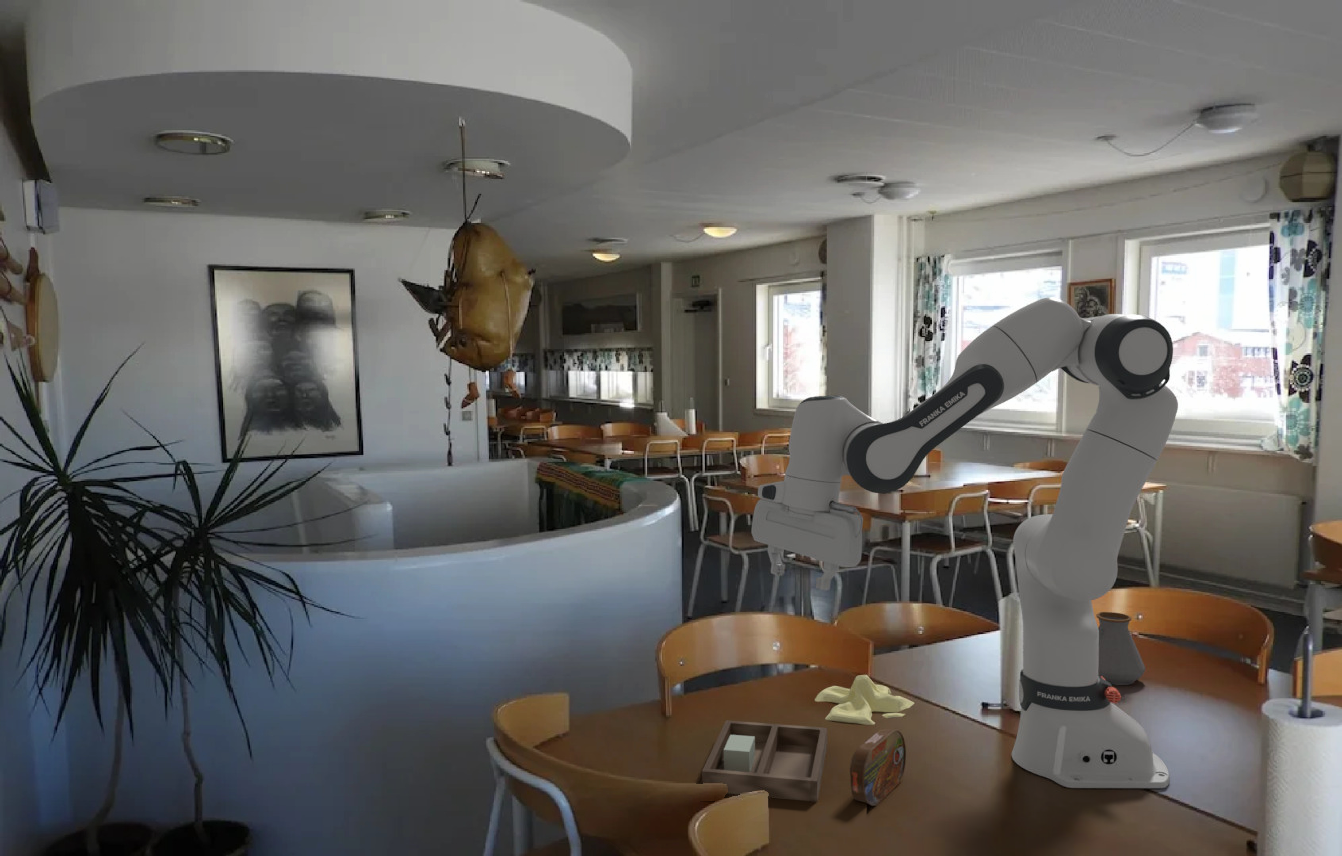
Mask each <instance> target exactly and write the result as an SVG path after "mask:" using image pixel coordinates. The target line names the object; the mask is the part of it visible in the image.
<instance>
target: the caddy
mask: <svg viewBox="0 0 1342 856" xmlns="http://www.w3.org/2000/svg"><path fill="white" fill-rule="evenodd" d="M730 735H742V736H755V760H754V762H753V765H752V768H751V771H750V772H740V771H729V770H724V748H725V746H726V744H727V741H728V739H729V737H730ZM827 748H828V728H827V727H820V726H819V727H818V726H808V725H807V726H806V725H793V724H781V723H766V722H753V721H741V720H740V721H739V720H738V721H737V720H729V719H728V720H727V719H726V720H725V721H724V723H723V726H722V729H721V730H720V732H719V735H718V736H717V738H716V741H715V743H714V745H713V748H712V749H711V751H710V754H709V756H708V758H707V760H706V762H705V764H704V766H703V769H702V771H701V774H702V775H701V776H702V777H701V779H702V783H723V784H727V786H728V793H727V794H729V795H730V794H732V795H739V794H740V793H743V792H752V791H756V790H765V791H767V792H768V793H769V797H768V798H771V799H772V798H774V799H781V800H782V799H784V800H791V801H792V800H794V801H804V802H806V801H807V802H813V803H814V802H815V803H817V802H818V801H819V795H820V791H821V790H820V788H821V783H822V776H823V771H824V765H825V760H826V754H827V750H828V749H827ZM702 783H701V784H702Z"/></svg>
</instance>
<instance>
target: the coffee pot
mask: <svg viewBox="0 0 1342 856" xmlns="http://www.w3.org/2000/svg"><path fill="white" fill-rule="evenodd" d="M1095 615H1096V616H1095V618H1097V619H1098V621H1099V625H1098V630H1099V666H1098V676H1099V677H1101V676H1102V677H1103V678H1104V679H1105V680H1106V681H1108V682H1109V683H1110V684H1111V685H1112V686H1113V685H1114V686H1128V685H1132V684H1134V683H1135V682H1134V681H1138V680H1139V679H1140V678H1141V677H1143V675H1144V674H1145V671H1146V667H1145V664H1144V661H1143V659H1142V656H1141V654H1140V652H1139V650H1138V648H1137V646H1136V643H1135V641H1134V639H1133V636H1132V634H1131V631H1130V629H1129V624H1130V622H1131V621H1132V619H1133V618H1132V617H1131V615H1128V614H1126V613H1125V614H1124V613H1122V612H1121V613H1120V612H1112V611H1111V612H1110V611H1101V612H1098V613H1096V614H1095Z"/></svg>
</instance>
